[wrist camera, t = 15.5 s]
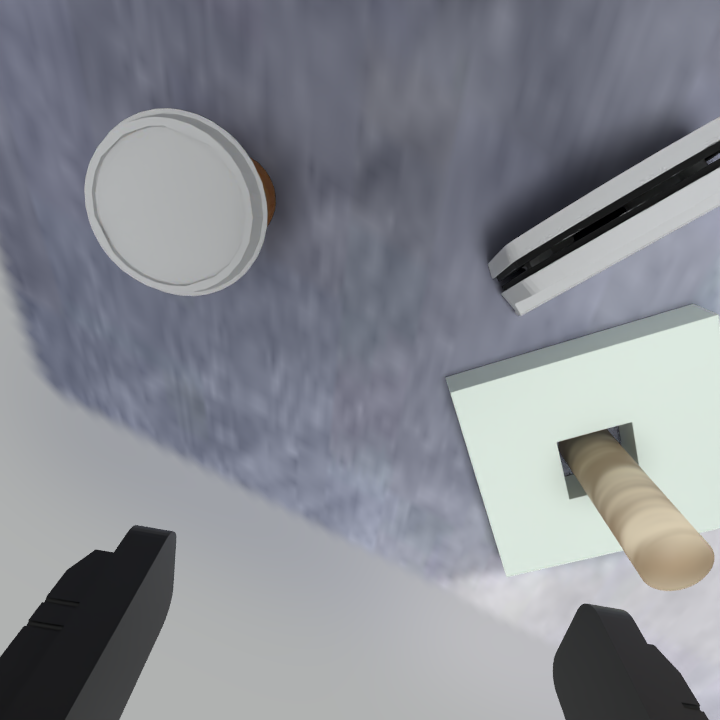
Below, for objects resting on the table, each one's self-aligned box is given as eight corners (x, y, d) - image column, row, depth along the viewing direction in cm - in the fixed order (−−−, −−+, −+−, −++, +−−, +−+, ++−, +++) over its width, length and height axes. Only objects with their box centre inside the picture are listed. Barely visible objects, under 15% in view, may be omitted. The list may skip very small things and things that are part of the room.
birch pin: (554, 428, 42) (634, 545, 29) (605, 414, 41) (711, 528, 28) (563, 468, 43) (643, 597, 30) (612, 456, 43) (716, 582, 30)
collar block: (445, 377, 40) (450, 392, 37) (693, 303, 37) (718, 314, 35) (498, 553, 47) (506, 577, 44) (711, 502, 44) (734, 525, 41)
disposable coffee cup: (323, 208, 36) (300, 225, 24) (232, 286, 38) (173, 334, 27) (234, 95, 33) (163, 57, 22) (142, 186, 35) (36, 194, 24)
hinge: (513, 319, 38) (530, 318, 29) (483, 268, 38) (490, 250, 29) (724, 201, 35) (827, 155, 25) (691, 145, 35) (780, 78, 25)
